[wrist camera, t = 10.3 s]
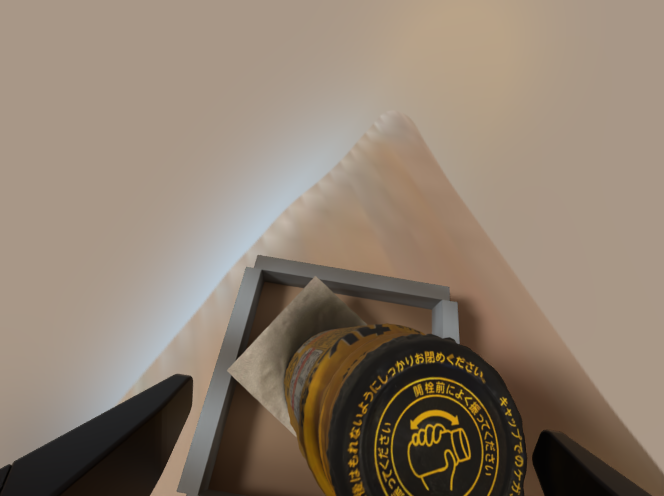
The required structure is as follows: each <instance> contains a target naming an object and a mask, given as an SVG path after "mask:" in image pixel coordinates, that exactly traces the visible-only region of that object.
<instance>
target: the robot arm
mask: <svg viewBox="0 0 664 496" xmlns="http://www.w3.org/2000/svg"><path fill="white" fill-rule="evenodd" d="M192 397H193V378H192V377H191V376H189V375H182V374H175V375H173V376H171V377H169V378H167V379H165V380H163V381H162V382H160V383H158V384H156V385H154V386H152V387H151V388H149V389H147V390H145V391H143V392H141V393H139V394H138V395H136V396H134V397H132V398H130V399H128V400H127V401H125V402H123V403H121V404H119V405H117V406H115V407H114V408H112V409H110V410H108V411H106V412H104V413H103V414H101V415H99V416H97V417H95V418H93V419H91V420H90V421H88V422H86V423H84V424H82V425H80V426H79V427H77V428H75V429H73V430H71V431H69V432H67V433H66V434H64V435H62V436H60V437H58V438H57V439H55V440H53V441H51V442H49V443H47V444H45V445H44V446H42V447H40V448H38V449H36V450H34V451H32V452H31V453H29V454H27V455H25V456H23V457H21V458H19V459H18V460H16V461H14V462H13V464H12V465H10V464H9V465H7V466H4V467H3V468H1V469H0V496H150V494H151V493H152V491H153V489H154V488H155V486H156V484H157V482H158V480H159V478H160V477H161V475H162V473H163V470H164V468H165V466H166V464H167V462H168V460H169V457H170V455H171V453H172V451H173V449H174V446H175V444H176V442H177V440H178V438H179V435H180V433H181V431H182V429H183V427H184V424H185V422H186V420H187V418H188V415H189V413H190V410H191V407H192ZM532 461H533V466H534V469H535V471H536V474H537V477H538V479H539V482H540V485H541V487H542V490H543V493H544V495H545V496H652V495H650V494H649V493H647V492H646V491H644V490H643V489H642V488H640V487H639V486H637V485H636V484H635V483H633V482H632V481H630V480H629V479H627V478H626V477H625V476H623V475H622V474H620V473H619V472H617V471H616V470H615V469H613V468H612V467H610V466H609V465H608V464H606V463H605V462H603V461H602V460H600V459H599V458H598V457H596V456H595V455H593V454H592V453H590V452H589V451H588V450H586V449H585V448H583V447H582V446H581V445H579V444H578V443H576V442H575V441H573V440H572V439H571V438H569V437H568V436H566V435H565V434H563V433H561V432H558V431H552V430H543V431H542V432H541V434H540V436H539V439H538V441H537V444H536V446H535V449H534V452H533V455H532Z"/></svg>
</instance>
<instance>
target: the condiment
mask: <svg viewBox="0 0 664 496" xmlns="http://www.w3.org/2000/svg"><path fill="white" fill-rule="evenodd" d="M227 371H228V372H229V373H230V374H231V375H232V376H233V377H234V378H235V379H236V380H237V381H238V382H239V383H240V384H241V385H242V386H243V387H244V388H245V389H246V390H247V391H248V392H249V393H250V394H251V395H252V396H253V397H255V398H256V399H257V400H258V401H259V402H260V403H261V404H262V405H263V406H264V407H265V408H266V409H267V410H268V411H269V412H270V413H271V414H272V415H273V416H274V417H276V418H277V419H278V420H279V421H280V422H281V423H282V424H283V425H284V426H285V427H286V428H287V429H288V430H289V431H290V432H291V433H292V434H293V435H295V436H296V437H297V440H298V445H299V450H300V452H301V454H302V456H303V457H304V458H305V459H306V461H307V464H308V467H309V469H310V470H311V472H312V474H313V477H314V479H315V480H316V482H317V484H318V486H319V487H320V489H321V490H322V492H323V493H324V494H325V495H326V496H524V489H523V482H524V478H525V474H526V467H527V454H526V445H525V438H524V433H523V428H522V418H521V415H520V413H519V411H518V410H517V407H516V405H515V402H514V400H513V399H512V397H511V395H510V393H509V391H508V389H507V387H506V385H505V383H504V381H503V379H502V378H501V376H500V375H499V374H498V372H497V371H496V370H495V369H494V368H493V367H492V366H490V365H489V364H488V363H486V362H485V361H484V360H483V359H482V358H481V357H480V356H479V355H477V354H476V353H475V352H473V351H472V350H471V349H470V348H468V347H466V346H463V345H460V344H457V343H456V341H455V340H454V339H452V338H450V337H447V338H443V339H442V338H441V337H439V336H437V335H433V334H426V335H425V334H424V333H422V332H421V331H418V330H415V329H413V328H410V327H406V326H402V325H396V324H389V323H386V324H374V325H367V324H366V323H365V322H364V321H363V320H362V319H361V318H360V317H359V316H358V315H357V314H356V313H355V312H353V311H352V310H351V309H350V308H349V307H348V306H347V305H346V304H345V303H344V302H343V301H341V300H340V299H339V298H338V297H337V296H336V295H335V294H334V293H333V292H332V291H331V290H330V289H329V288H328V287H327V286H326V285H325V284H324V283H323V282H322V281H321V280H320V279H318V278H317V277H316V276H315V277H314V278H313V279H312V280H311V281H310V282H309V283H308V284H307V286H306V287H305V288H304V289H303V290H302V291H301V292H300V293H299V294H298V295H297V296H296V297H295V298H294V299H293V300H292V301H291V303H290V304H289V305H288V306H287V307H286V308H285V309H284V310H283V311H282V312H281V313H280V314H279V315H278V316H277V317H276V319H275V320H274V321H273V322H272V323H271V324H270V325H269V326H268V327H267V328H266V329H265V330H264V331H263V332H262V333H261V335H260V336H259V337H258V338H257V339H256V340H255V341H254V342H253V343H252V344H251V345H250V346H249V347H248V348H247V349H246V351H245V352H244V353H243V354H242V355H241V356H240V357H239V358H238V359H237V360H236V361H235V362H234V363H233V364H232V365H231V367H230V368H229V369H228V370H227Z"/></svg>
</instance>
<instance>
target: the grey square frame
mask: <svg viewBox="0 0 664 496" xmlns="http://www.w3.org/2000/svg"><path fill="white" fill-rule="evenodd" d="M315 276H316V277H317V278H318V279H320V280H321V281H322V282H323V283H324V284H325V285H326V286H327V287H328V288H329V289H330V290H331V291H332V292H333V293H334V294H335V295H336V296H337V297H338V298H339V299H340V300H341V301H343V302H344V303H345V304H346V305H347V306H348V307H349V308H350V309H351V310H352V311H353V312H355V313H356V314H357V315H358V316H359V317H360V318H361V319H362V320H363V321H364V322H365V323H366V324H367V325H374V324H386V323H389V324H396V325H402V326H406V327H410V328H413V329H415V330H418V331H421V332H422V333H424V334H425V335H426V334H433V335H437V336H439V337H441V338H442V339H443V338H447V337H450V338H452V339H454V340H455V341H456V343H457V344H460V343H459V324H458V304H457V302H453V301H450V291H449V287H447V286H441V285H435V284H429V283H423V282H417V281H411V280H405V279H399V278H393V277H387V276H381V275H375V274H369V273H363V272H357V271H351V270H345V269H339V268H333V267H327V266H321V265H315V264H309V263H303V262H297V261H291V260H285V259H279V258H273V257H267V256H261V255H258V256H257V259H256V262H255V266H254V268H250V267H246V269H245V273H244V276H243V279H242V282H241V285H240V289H239V292H238V295H237V298H236V302H235V305H234V308H233V311H232V314H231V318H230V321H229V324H228V327H227V331H226V334H225V337H224V340H223V343H222V347H221V350H220V353H219V356H218V360H217V363H216V366H215V369H214V372H213V376H212V379H211V382H210V385H209V389H208V392H207V395H206V398H205V401H204V405H203V408H202V411H201V414H200V418H199V421H198V424H197V427H196V431H195V434H194V437H193V440H192V443H191V447H190V450H189V453H188V456H187V460H186V463H185V466H184V469H183V472H182V476H181V479H180V482H179V485H178V489H177V492H180V493H186V494H187V495H186V496H326V495H325V494H324V493H323V492H322V490H321V489H320V487H319V486H318V484H317V482H316V480H315V479H314V477H313V474H312V472H311V470H310V469H309V467H308V464H307V461H306V459H305V458H304V457H303V456H302V454H301V452H300V450H299V445H298V440H297V437H296V436H295V435H293V434H292V433H291V432H290V431H289V430H288V429H287V428H286V427H285V426H284V425H283V424H282V423H281V422H280V421H279V420H278V419H277V418H276V417H274V416H273V415H272V414H271V413H270V412H269V411H268V410H267V409H266V408H265V407H264V406H263V405H262V404H261V403H260V402H259V401H258V400H257V399H256V398H255V397H253V396H252V395H251V394H250V393H249V392H248V391H247V390H246V389H245V388H244V387H243V386H242V385H241V384H240V383H239V382H238V381H237V380H236V379H235V378H234V377H233V376H232V375H231V374H230V373H229V372H228V371H227V370H228V369H229V368H230V367H231V365H232V364H233V363H234V362H235V361H236V360H237V359H238V358H239V357H240V356H241V355H242V354H243V353H244V352H245V351H246V349H247V348H248V347H249V346H250V345H251V344H252V343H253V342H254V341H255V340H256V339H257V338H258V337H259V336H260V335H261V333H262V332H263V331H264V330H265V329H266V328H267V327H268V326H269V325H270V324H271V323H272V322H273V321H274V320H275V319H276V317H277V316H278V315H279V314H280V313H281V312H282V311H283V310H284V309H285V308H286V307H287V306H288V305H289V304H290V303H291V301H292V300H293V299H294V298H295V297H296V296H297V295H298V294H299V293H300V292H301V291H302V290H303V289H304V288H305V287H306V286H307V284H308V283H309V282H310V281H311V280H312V279H313V278H314V277H315Z"/></svg>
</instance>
